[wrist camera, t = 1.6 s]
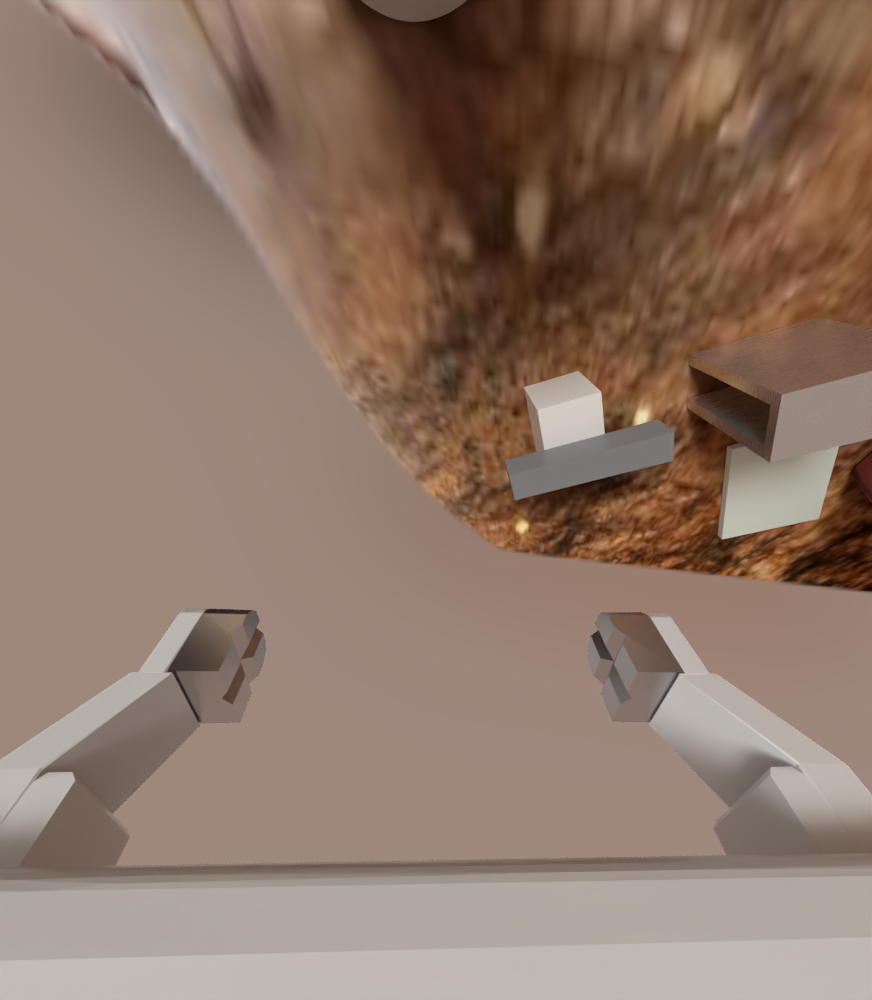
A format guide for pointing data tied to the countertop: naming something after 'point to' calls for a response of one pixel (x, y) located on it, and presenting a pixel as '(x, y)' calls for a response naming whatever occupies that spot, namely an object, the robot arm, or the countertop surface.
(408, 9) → the cylinder vase
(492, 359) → the countertop surface
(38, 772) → the robot arm
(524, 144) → the countertop surface
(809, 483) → the sage mat
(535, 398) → the off-white cardboard box
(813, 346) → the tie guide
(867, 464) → the plant pot
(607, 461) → the bar
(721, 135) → the countertop surface
